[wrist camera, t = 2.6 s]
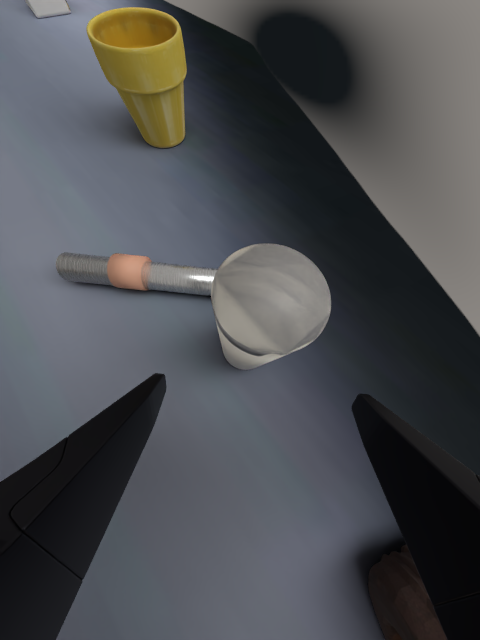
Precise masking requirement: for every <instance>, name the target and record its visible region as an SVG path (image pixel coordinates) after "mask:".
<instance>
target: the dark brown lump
mask: <svg viewBox="0 0 480 640" xmlns="http://www.w3.org/2000/svg"><path fill="white" fill-rule="evenodd" d="M368 580H369V582H368V588H369V594H370V597H371V601H372V604H373V607H374V610H375V613H376V615H377V618H378V621H379V623H380V626H381V629H382V631H383V634H384V636H385V639H386V640H447V638H446V636H445V633H444V631H443V629H442V627H441V624H440V622H439V620H438V617H437V615H436V613H435V610H434V608H433V605H432V603H431V601H430V598H429V596H428V594H427V591H426V589H425V587H424V584H423V582H422V580H421V577H420V575H419V573H418V570H417V568H416V566H415V564H414V561H413V559H412V557H411V554H410V552H409V550H408V547H407V545H406V544H405V545H403V546H402V547H401V553H398V552H396V551H391V553H390V554H389V556H388V555H387V554H383V555H382V557H381V561H380V562H379V563H376V564H374V565H373V566H372V568H371V569H370V572H369V576H368Z"/></svg>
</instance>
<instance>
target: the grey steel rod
mask: <svg viewBox="0 0 480 640" xmlns="http://www.w3.org/2000/svg"><path fill="white" fill-rule="evenodd" d="M56 268H57V271H58V273H59V275H60V276H61V277H62V278H63V279H65V280H67V281H75V282H85V283H94V284H104V285H113V286H115V287H117V288H126V289H136V290H145V291H147V290H149V289H151V290H160V291H170V292H179V293H189V294H198V295H208V296H211V288H212V283H213V279H214V277H215V274H216V272H217V270H218V269H213V268H204V267H195V266H186V265H177V264H168V263H159V262H152V261H151V260H150V259H149V258H148V257H145V256H136V255H127V254H118V253H116V254H113V255H112V256H111V257H104V256H95V255H85V254H76V253H67V252H66V253H62V254H60V255H59V256H58V258H57V260H56Z"/></svg>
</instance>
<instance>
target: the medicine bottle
mask: <svg viewBox="0 0 480 640" xmlns="http://www.w3.org/2000/svg"><path fill="white" fill-rule="evenodd" d="M25 2H26V3H27V5H28V6H29V7H30V9H31V10H32V11H33V13H34V14H35V16H36V17H37V18H45V17H51V16H58V15H64V14H70V13H71V11H70V8H69V6H68V4H67V1H66V0H25Z"/></svg>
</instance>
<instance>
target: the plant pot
mask: <svg viewBox="0 0 480 640" xmlns="http://www.w3.org/2000/svg"><path fill="white" fill-rule="evenodd" d="M87 34H88V37H89V40H90V42H91V44H92V47H93V49H94V52H95V54H96V57H97V59H98V61H99V63H100V66H101V68H102V70H103V72H104V74H105V77H106V78H107V80H108V81H109V83H110V84H111V85H113V86H114V87H115V88H116V89H117V91H118V93H119V94H120V96H121V98H122V100H123V102H124V103H125V105H126V107H127V109H128V111H129V112H130V114H131V116H132V118H133V120H134V121H135V123H136V125H137V127H138V129H139V131H140V133H141V134H142V136H143V138H144V140H145V141H146V142H147V143H148V144H150V145H152V146H154V147H158V148H170V147H174V146H176V145H178V144H179V143H181V142H182V141H183V139H184V137H185V120H184V90H183V80H184V79H185V77H186V71H187V70H186V60H185V52H184V45H183V39H182V33H181V28H180V26H179V23H178V22H177V21H176V20H175V19H174V18H173V17H172V16H170V15H168V14H167V13H164V12H161V11H158V10H154V9H148V8H133V7H131V8H119V9H113V10H109V11H106V12H103V13H101V14H99V15H97V16H95V17H94V18H92V19H91V20H90V21H89V23H88V25H87Z"/></svg>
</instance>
